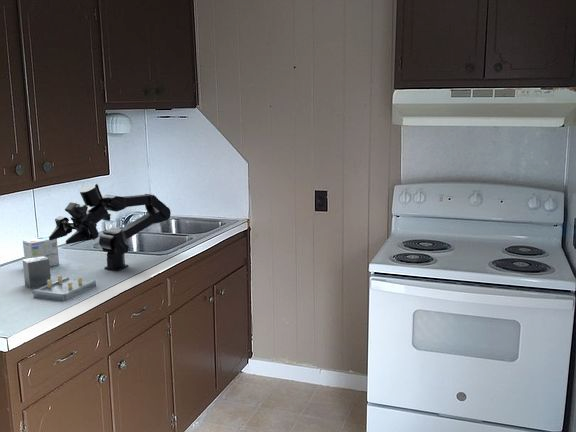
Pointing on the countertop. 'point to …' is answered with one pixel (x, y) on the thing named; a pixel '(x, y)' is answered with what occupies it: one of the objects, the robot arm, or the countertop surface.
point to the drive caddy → (36, 271)
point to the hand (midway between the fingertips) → (57, 240)
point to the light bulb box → (42, 249)
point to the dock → (63, 288)
